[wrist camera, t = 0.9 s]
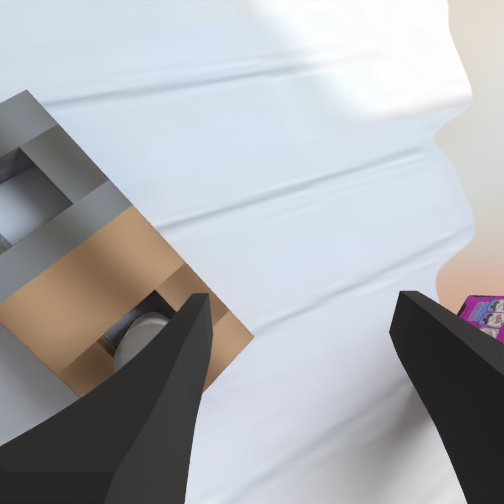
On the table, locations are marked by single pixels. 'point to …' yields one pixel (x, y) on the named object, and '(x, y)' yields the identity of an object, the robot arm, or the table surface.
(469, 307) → the candy bar box
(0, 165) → the dock board
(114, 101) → the table surface
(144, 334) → the pin
